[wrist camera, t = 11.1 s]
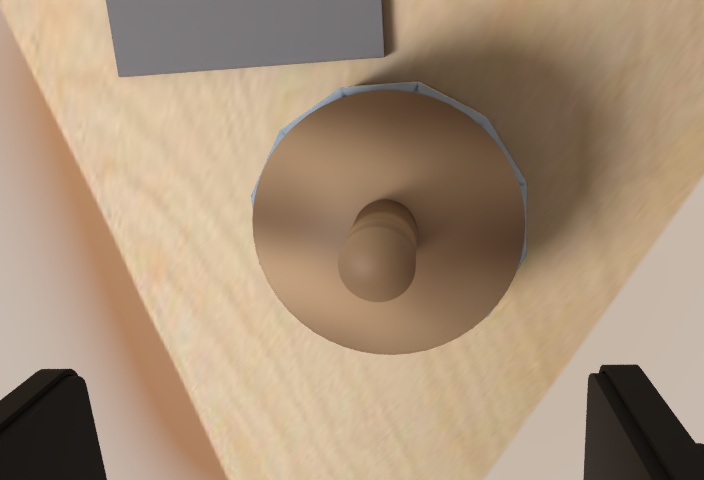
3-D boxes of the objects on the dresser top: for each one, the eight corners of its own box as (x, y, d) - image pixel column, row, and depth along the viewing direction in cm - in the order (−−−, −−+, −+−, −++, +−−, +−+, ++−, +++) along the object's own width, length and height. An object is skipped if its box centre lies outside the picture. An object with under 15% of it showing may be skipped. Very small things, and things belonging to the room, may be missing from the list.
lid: (243, 100, 26) (191, 107, 20) (521, 78, 24) (551, 79, 19) (273, 347, 29) (236, 414, 23) (522, 342, 27) (548, 413, 22)
